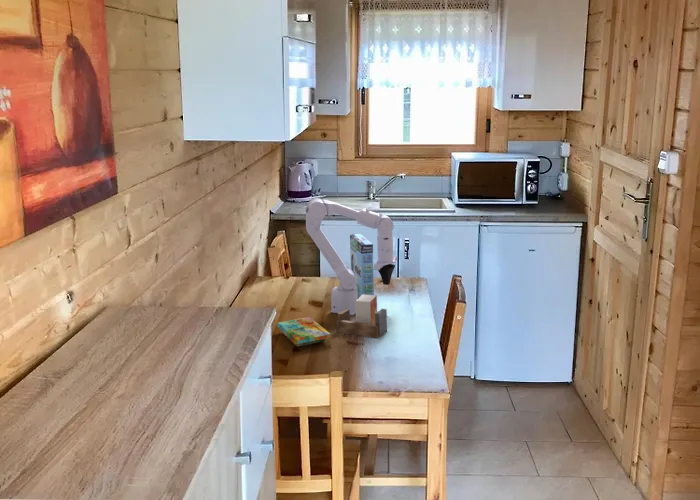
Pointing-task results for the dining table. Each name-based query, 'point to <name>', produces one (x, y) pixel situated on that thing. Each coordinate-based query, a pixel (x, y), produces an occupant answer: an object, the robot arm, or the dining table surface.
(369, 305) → the small box
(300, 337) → the puzzle game
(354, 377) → the dining table surface
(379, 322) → the bookend
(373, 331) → the walnut shelf corner
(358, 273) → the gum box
